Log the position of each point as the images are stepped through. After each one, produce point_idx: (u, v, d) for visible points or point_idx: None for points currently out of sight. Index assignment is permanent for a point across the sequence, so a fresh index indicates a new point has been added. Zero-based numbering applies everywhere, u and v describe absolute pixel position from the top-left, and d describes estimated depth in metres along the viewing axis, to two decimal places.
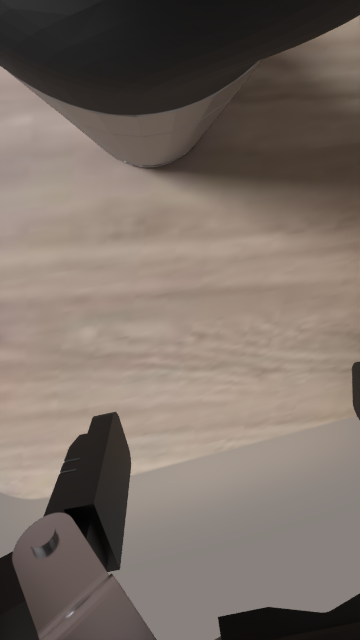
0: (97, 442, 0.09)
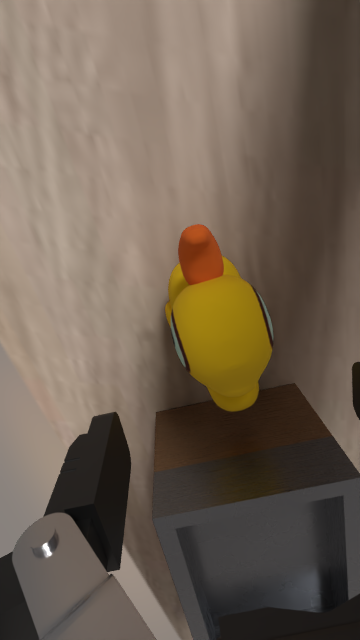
0: (97, 442, 0.09)
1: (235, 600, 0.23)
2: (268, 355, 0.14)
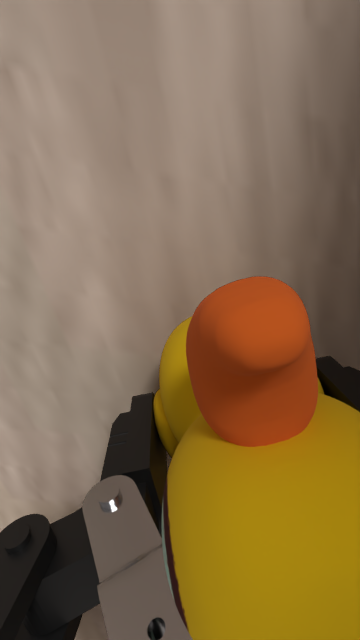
0: (141, 418, 0.10)
1: None
2: None
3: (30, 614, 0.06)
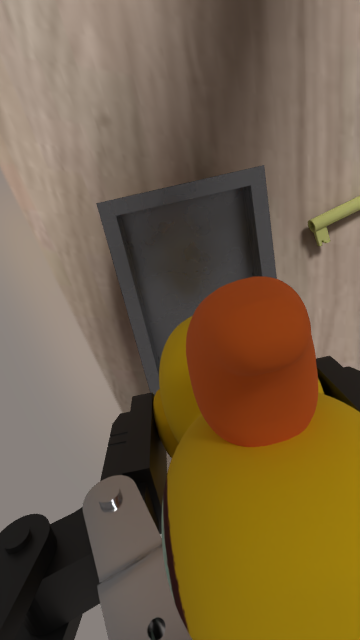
0: (141, 418, 0.10)
1: None
2: None
3: (30, 614, 0.06)
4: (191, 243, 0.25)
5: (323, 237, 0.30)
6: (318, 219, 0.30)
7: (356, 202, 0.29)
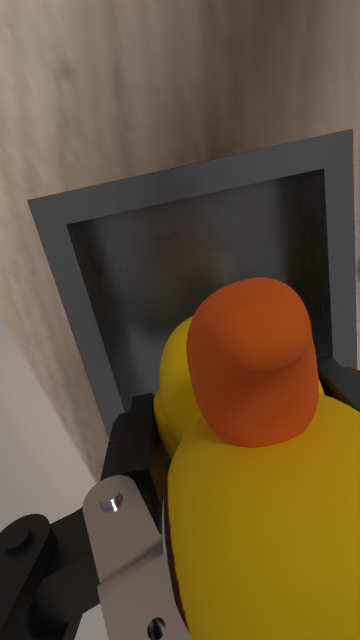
0: (141, 418, 0.10)
1: None
2: None
3: (30, 614, 0.06)
4: (205, 270, 0.14)
5: None
6: None
7: None
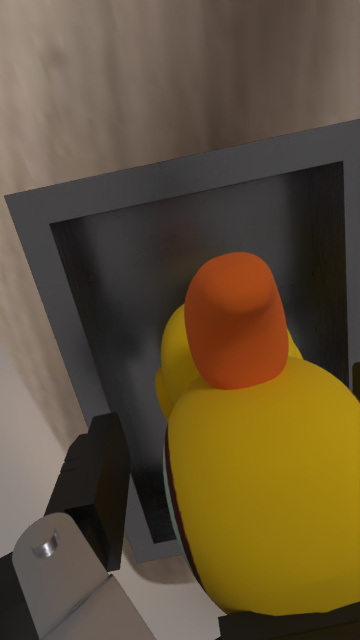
0: (97, 442, 0.09)
1: None
2: None
3: None
4: None
5: None
6: None
7: None
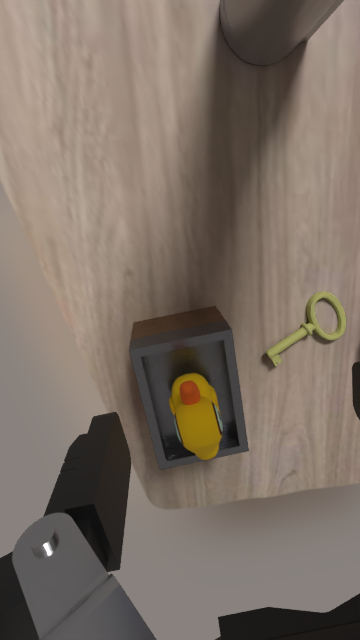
0: (97, 442, 0.09)
1: None
2: (219, 439, 0.30)
3: None
4: (186, 363, 0.38)
5: (277, 360, 0.45)
6: (271, 351, 0.44)
7: (295, 337, 0.44)
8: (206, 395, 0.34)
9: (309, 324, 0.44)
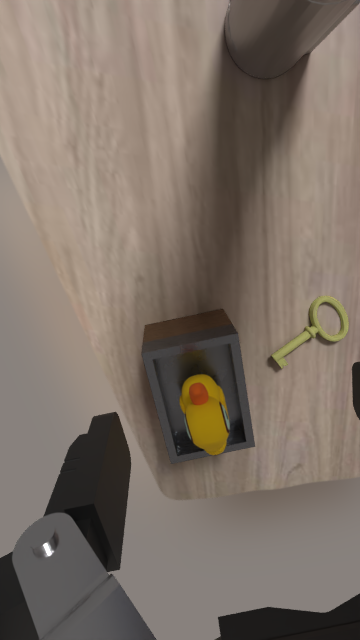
0: (97, 442, 0.09)
1: None
2: (226, 436, 0.33)
3: None
4: (195, 364, 0.40)
5: (282, 363, 0.47)
6: (276, 355, 0.46)
7: (299, 340, 0.46)
8: (214, 395, 0.36)
9: (312, 327, 0.46)
